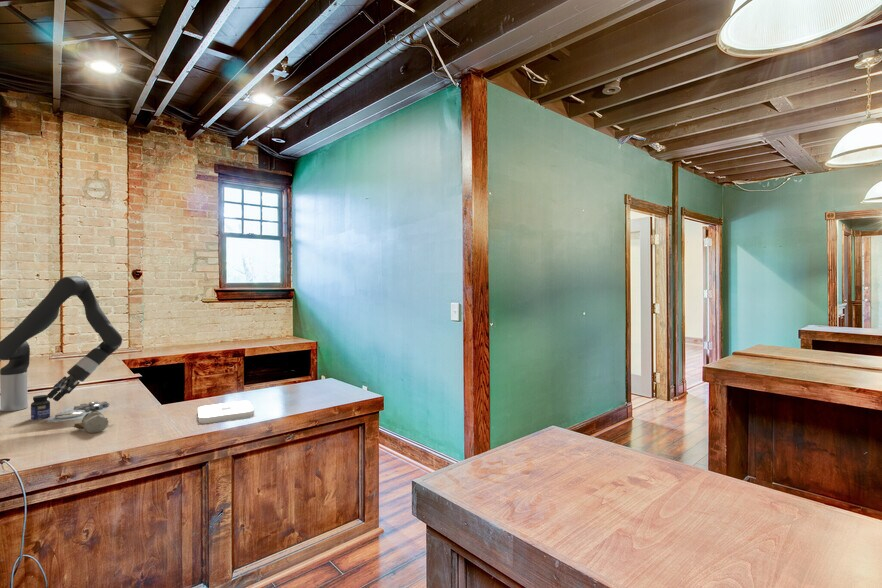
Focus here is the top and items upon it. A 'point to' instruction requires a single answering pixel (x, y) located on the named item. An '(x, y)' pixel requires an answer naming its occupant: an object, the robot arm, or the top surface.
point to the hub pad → (70, 414)
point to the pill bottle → (40, 408)
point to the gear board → (74, 417)
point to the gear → (91, 406)
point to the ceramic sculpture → (93, 422)
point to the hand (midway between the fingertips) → (51, 398)
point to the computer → (225, 411)
